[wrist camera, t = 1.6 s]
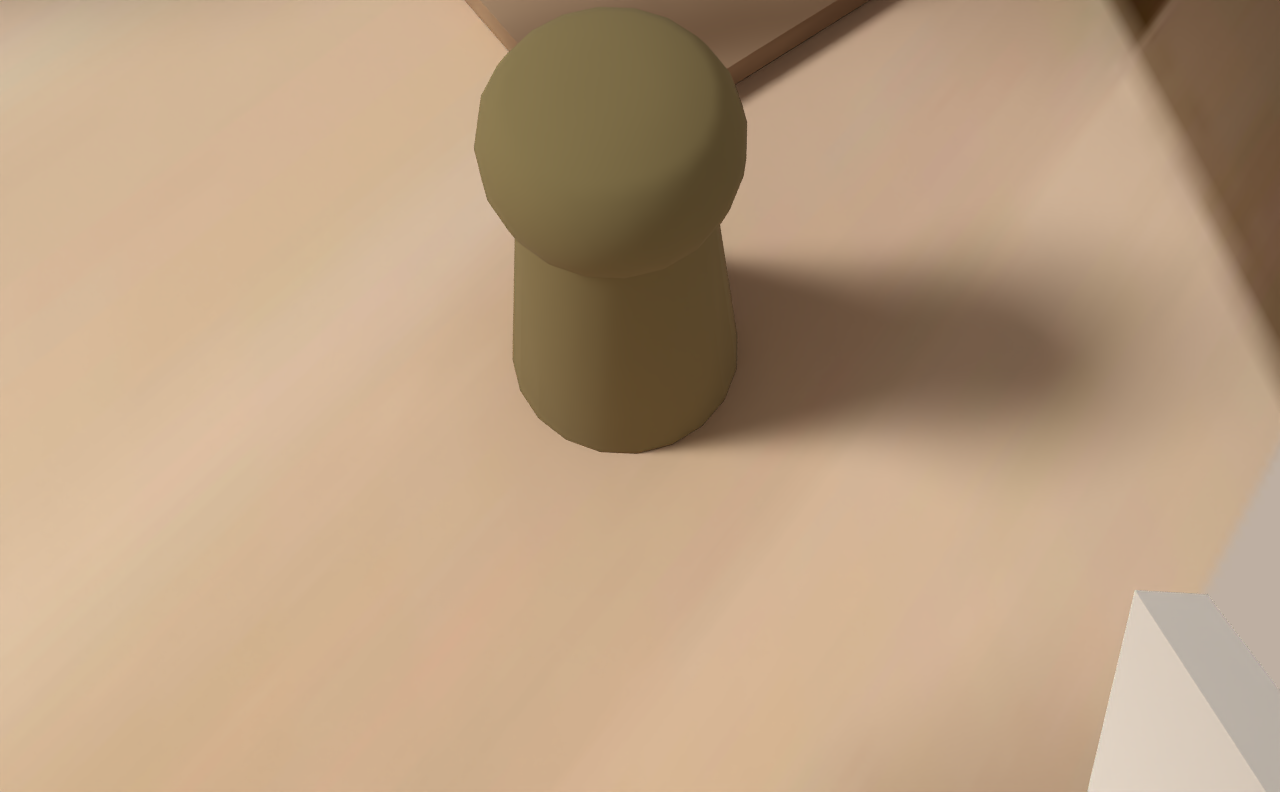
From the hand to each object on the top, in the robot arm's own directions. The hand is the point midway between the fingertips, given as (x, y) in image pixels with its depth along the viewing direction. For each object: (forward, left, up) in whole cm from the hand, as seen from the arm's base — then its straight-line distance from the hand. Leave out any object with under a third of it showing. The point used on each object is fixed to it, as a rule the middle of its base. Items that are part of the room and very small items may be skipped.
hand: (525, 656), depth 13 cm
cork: (-8, +7, -15) cm, 18 cm away
